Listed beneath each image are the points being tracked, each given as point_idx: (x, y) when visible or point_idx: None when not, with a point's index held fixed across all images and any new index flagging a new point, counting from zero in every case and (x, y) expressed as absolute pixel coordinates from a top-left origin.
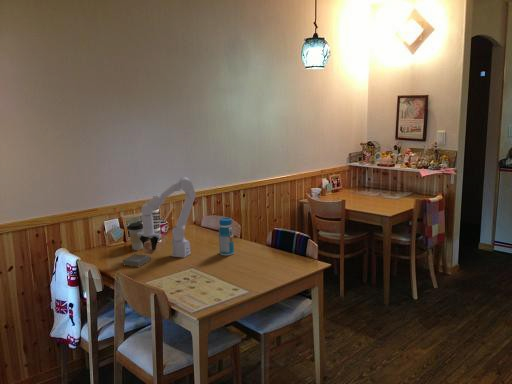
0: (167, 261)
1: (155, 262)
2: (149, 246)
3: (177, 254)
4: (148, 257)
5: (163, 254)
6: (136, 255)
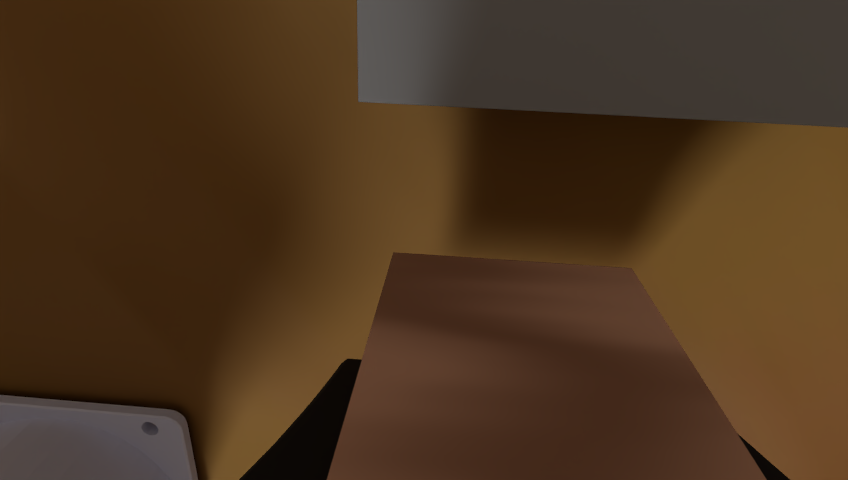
0: (8, 156)
1: (199, 25)
2: (433, 408)
3: (5, 437)
4: (363, 28)
5: None
6: (840, 16)
